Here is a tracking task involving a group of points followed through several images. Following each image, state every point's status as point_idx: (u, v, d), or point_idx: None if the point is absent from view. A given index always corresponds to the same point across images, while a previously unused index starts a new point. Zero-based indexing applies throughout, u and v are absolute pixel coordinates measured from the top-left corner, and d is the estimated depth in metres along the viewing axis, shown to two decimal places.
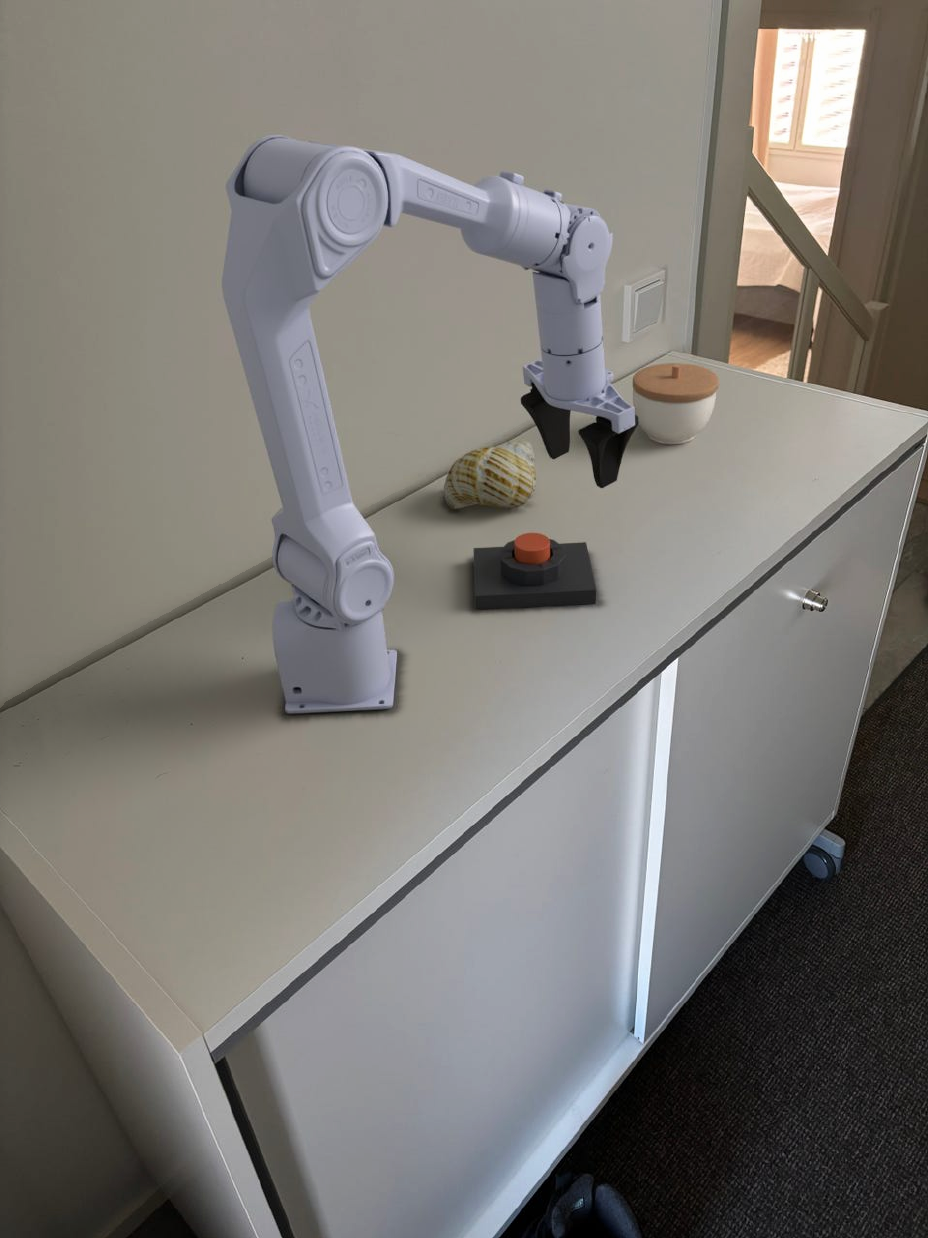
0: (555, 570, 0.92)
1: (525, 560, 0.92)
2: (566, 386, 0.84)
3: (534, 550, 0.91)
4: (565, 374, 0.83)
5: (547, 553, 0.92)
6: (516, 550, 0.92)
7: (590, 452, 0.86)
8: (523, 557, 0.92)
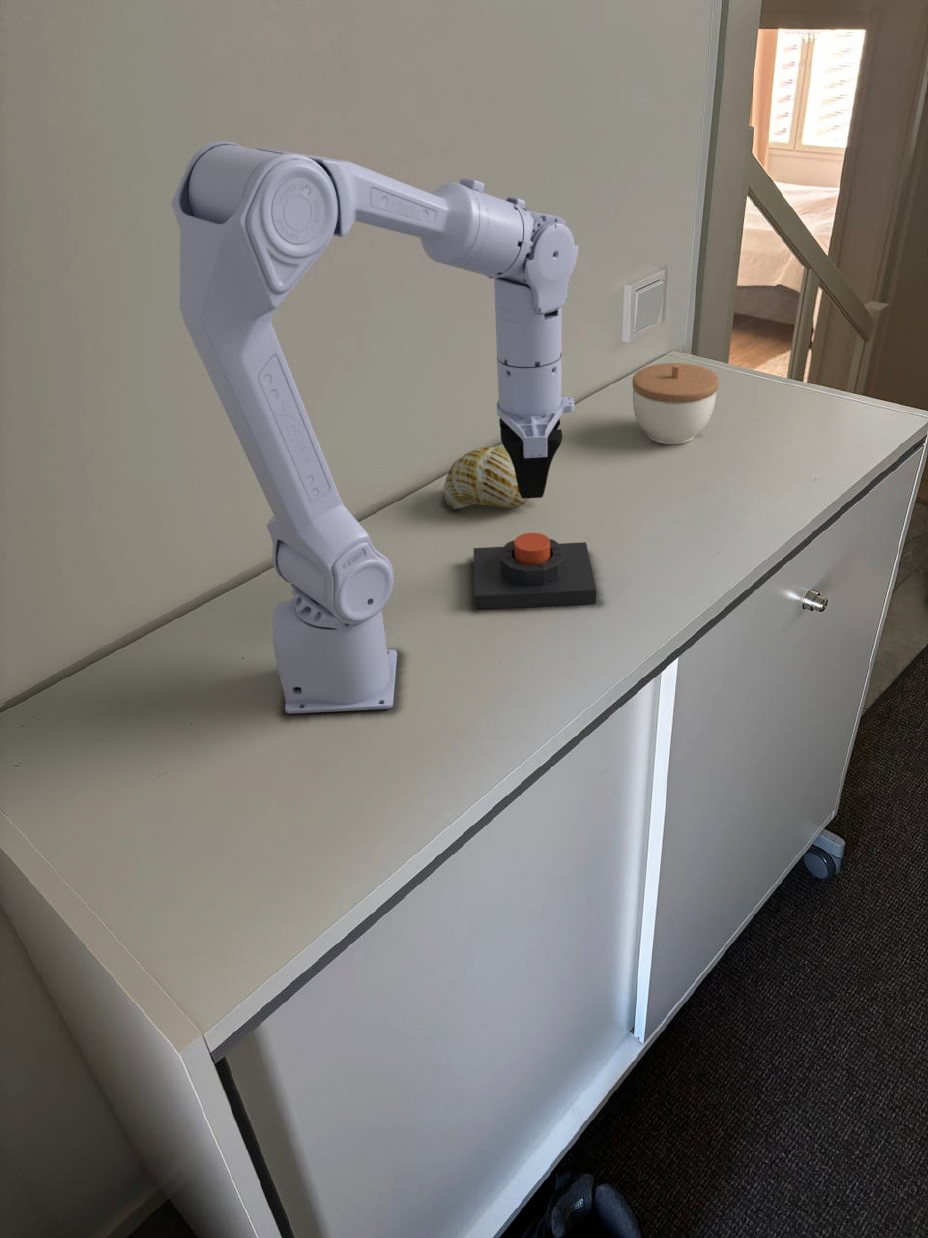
0: (555, 570, 0.92)
1: (525, 560, 0.92)
2: (505, 397, 0.82)
3: (534, 550, 0.91)
4: (505, 384, 0.81)
5: (547, 553, 0.92)
6: (516, 550, 0.92)
7: None
8: (523, 557, 0.92)
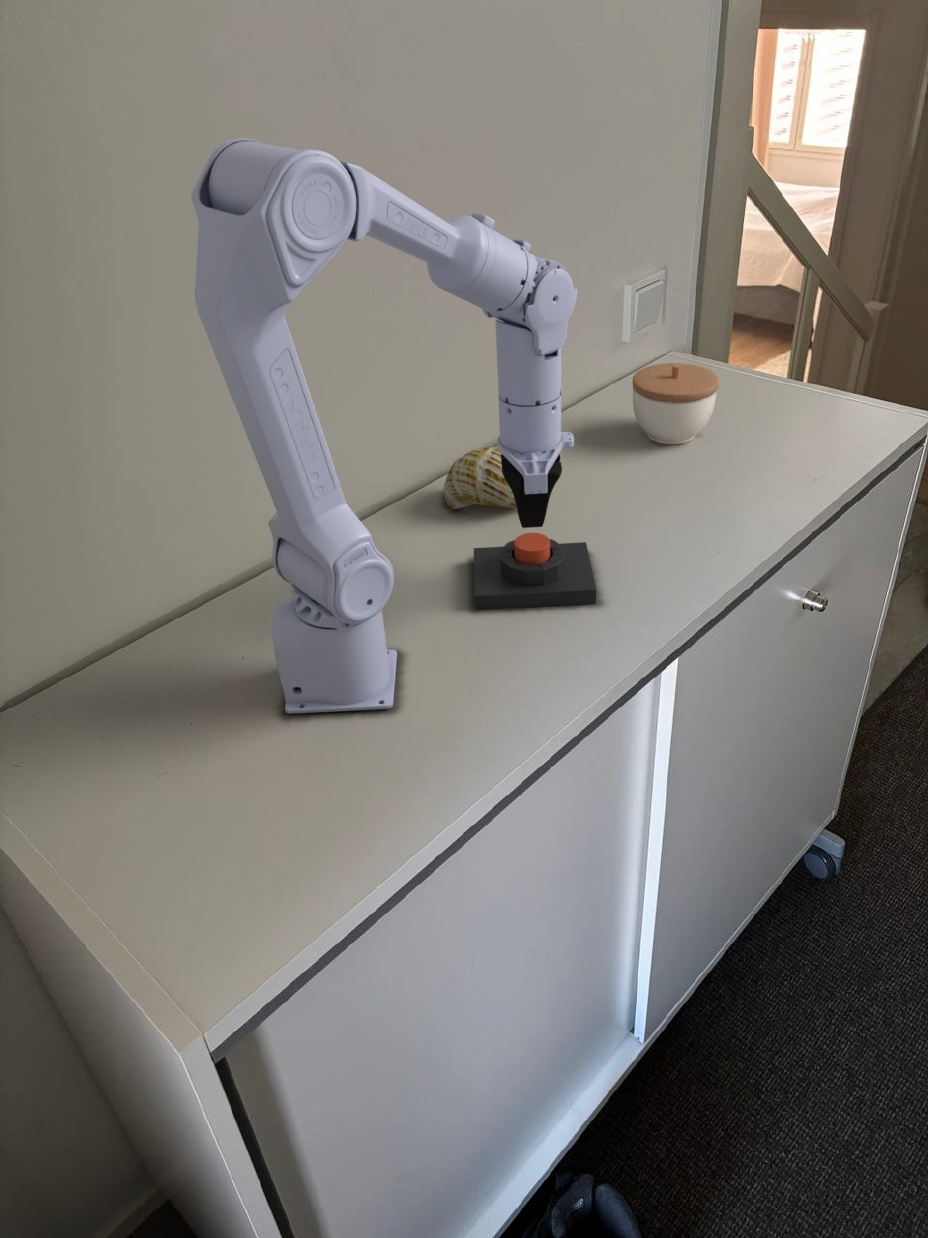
0: (555, 570, 0.92)
1: (525, 560, 0.92)
2: (506, 434, 0.84)
3: (534, 550, 0.91)
4: (506, 421, 0.83)
5: (547, 553, 0.92)
6: (516, 550, 0.92)
7: None
8: (523, 557, 0.92)
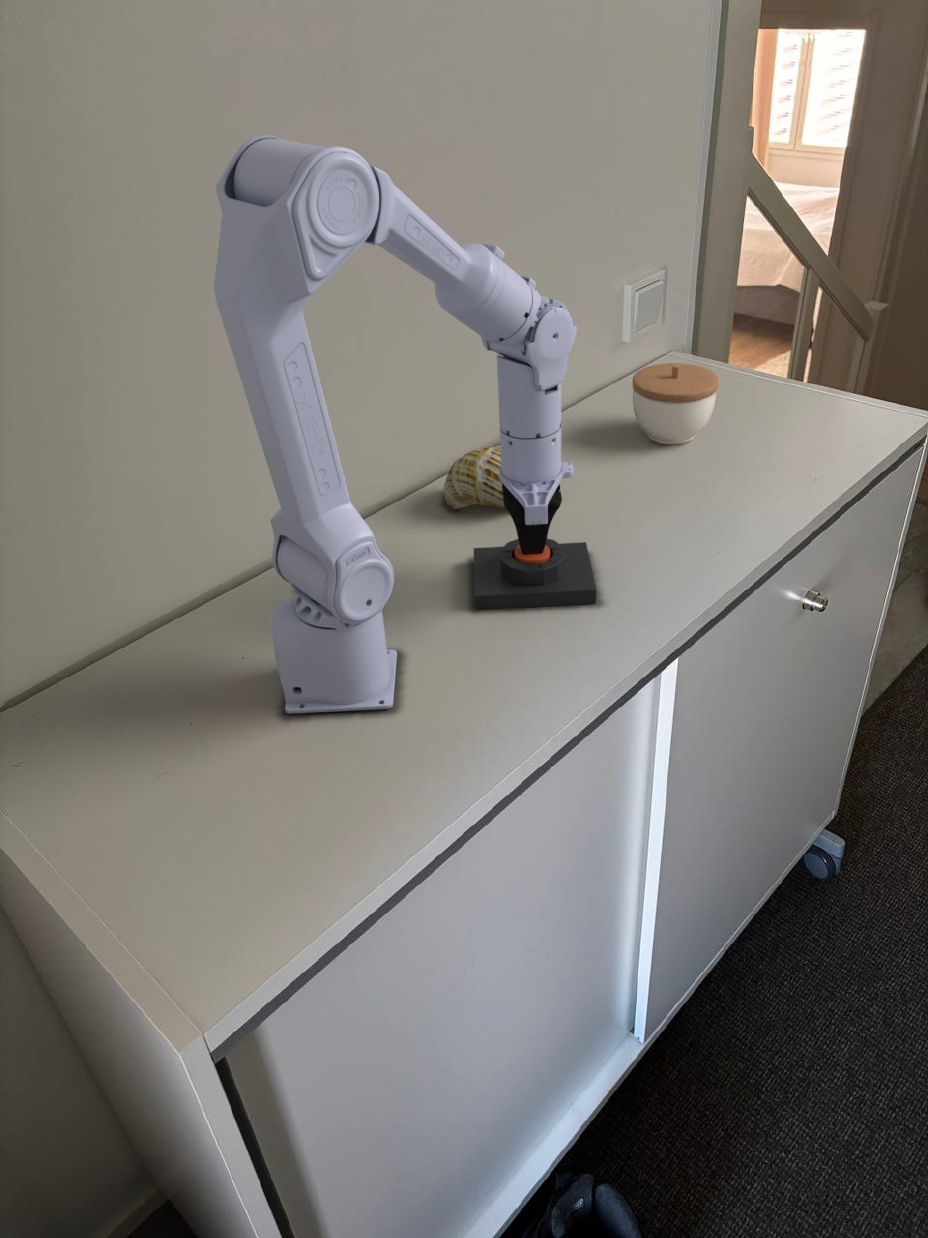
0: (555, 570, 0.92)
1: None
2: (507, 465, 0.86)
3: (534, 560, 0.92)
4: (507, 453, 0.85)
5: None
6: (516, 559, 0.93)
7: None
8: None
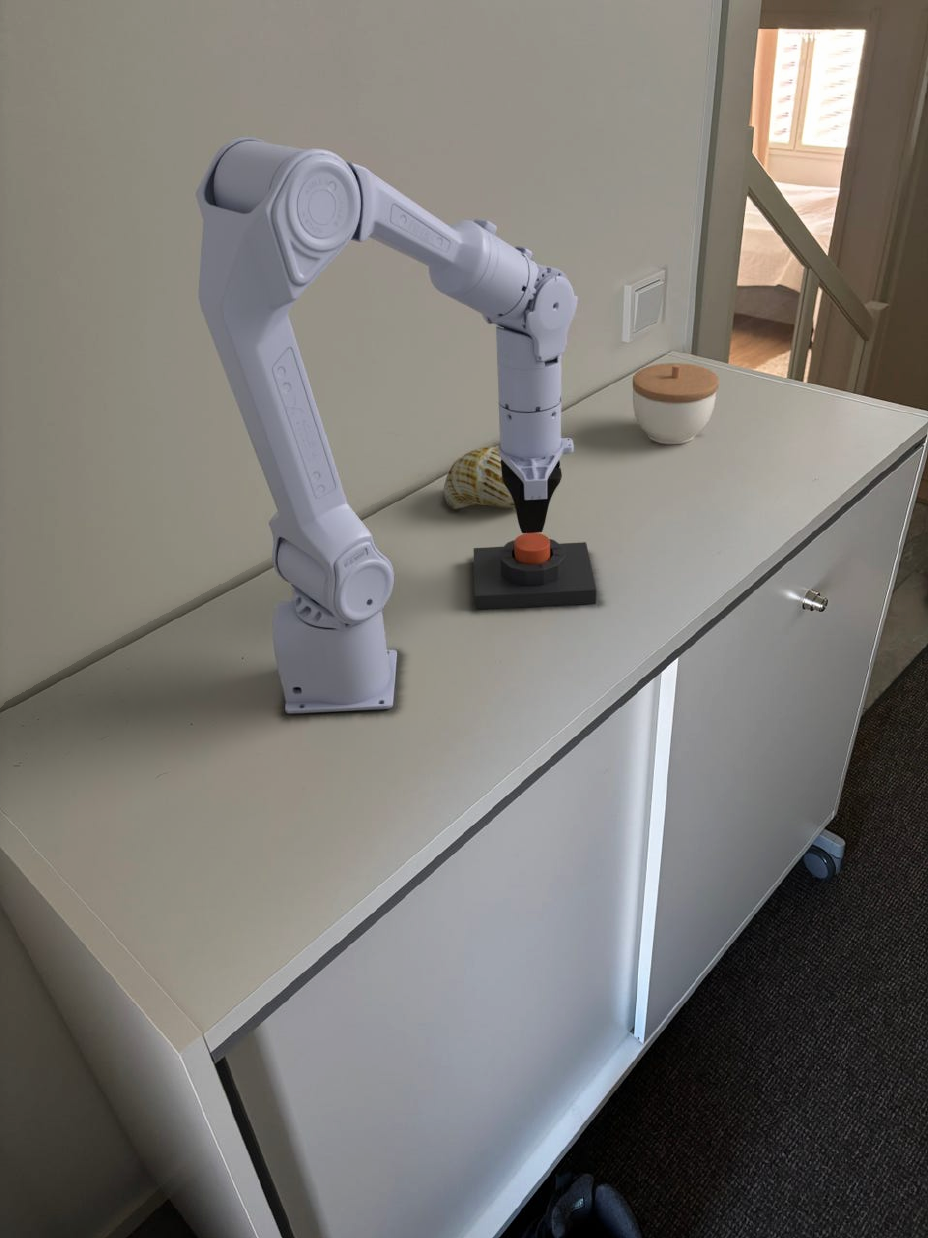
0: (555, 570, 0.92)
1: (525, 560, 0.92)
2: (506, 440, 0.84)
3: (534, 550, 0.91)
4: (506, 427, 0.83)
5: (547, 553, 0.92)
6: (516, 550, 0.92)
7: None
8: (523, 557, 0.92)
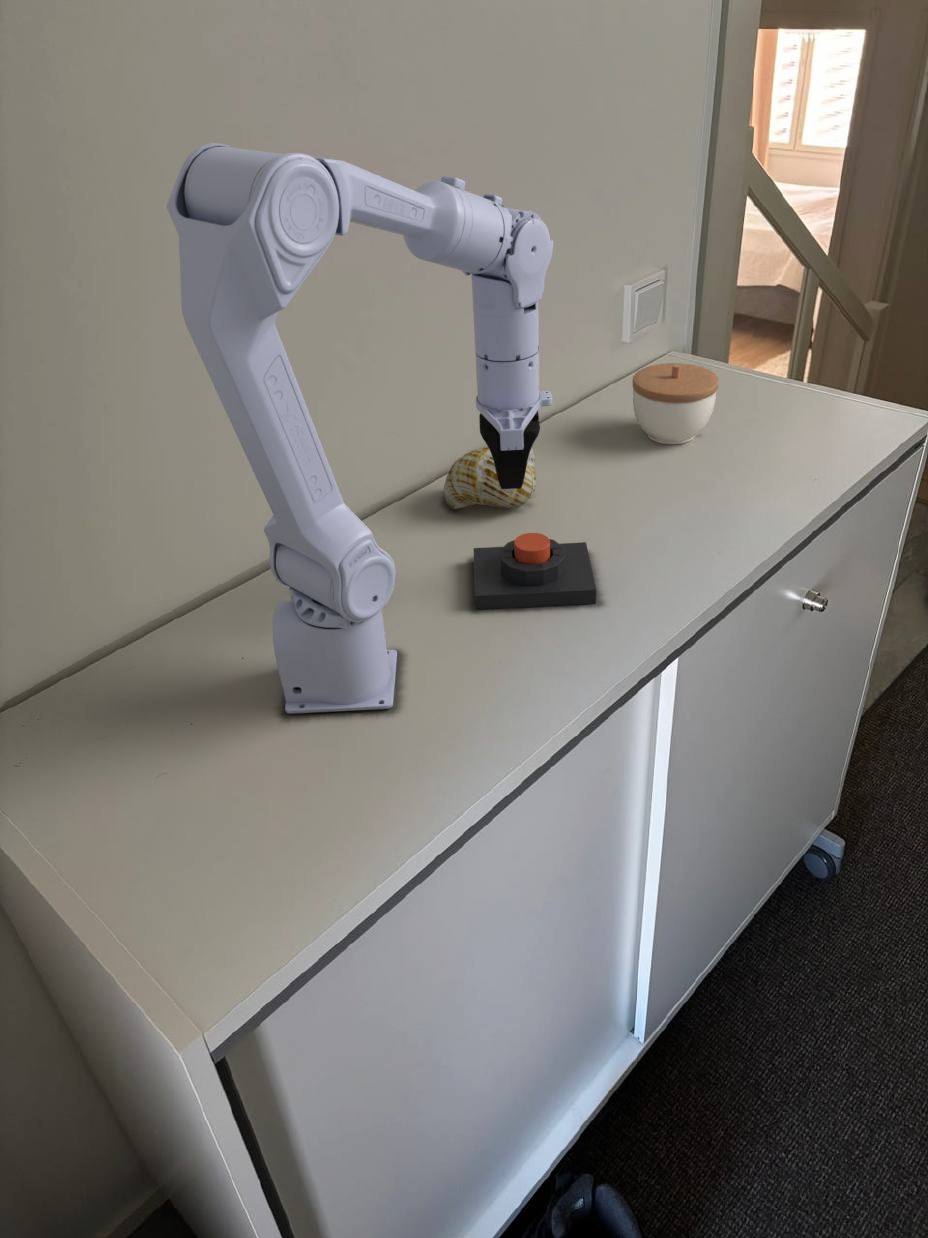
0: (555, 570, 0.92)
1: (525, 560, 0.92)
2: (483, 391, 0.83)
3: (534, 550, 0.91)
4: (483, 378, 0.82)
5: (547, 553, 0.92)
6: (516, 550, 0.92)
7: None
8: (523, 557, 0.92)
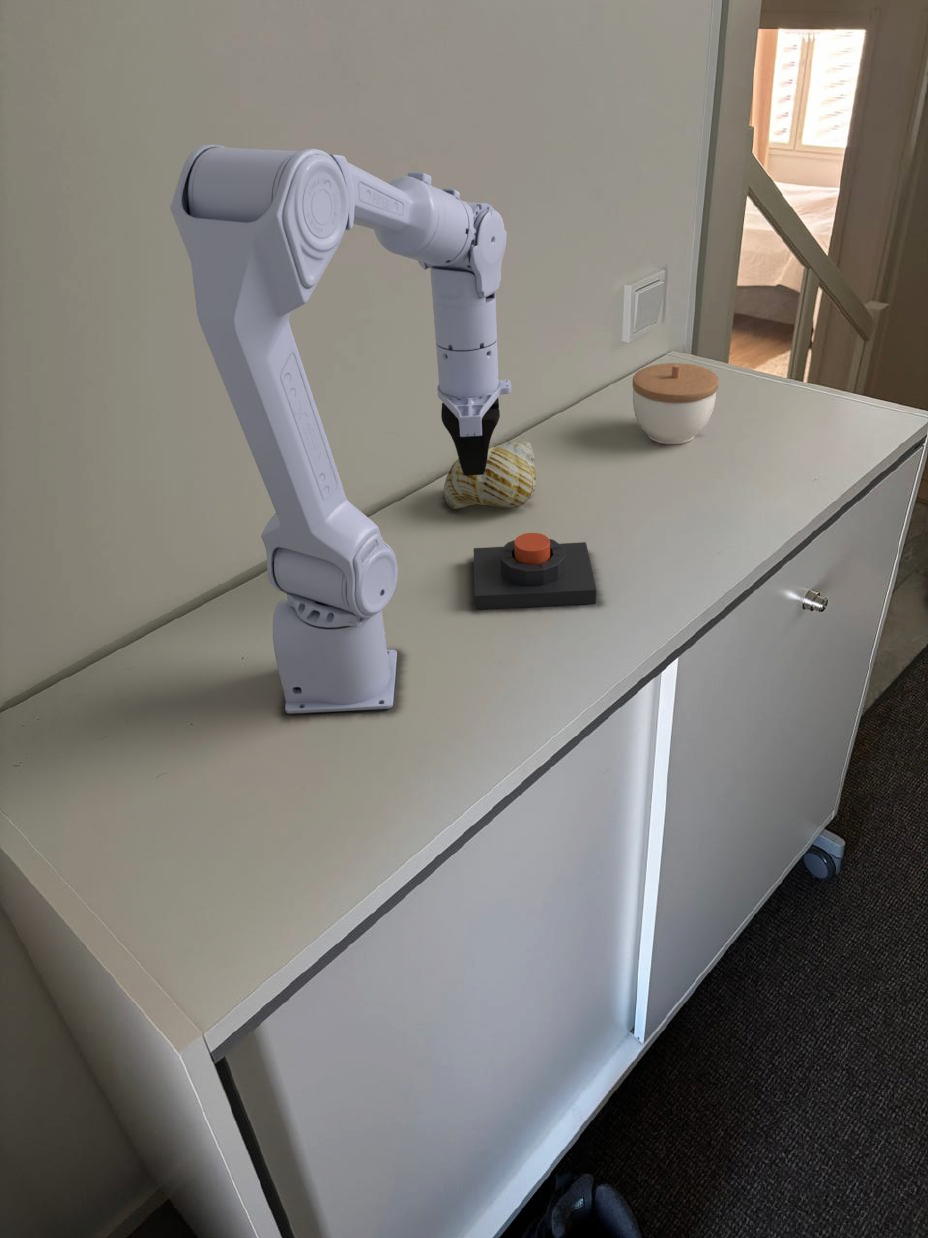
0: (555, 570, 0.92)
1: (525, 560, 0.92)
2: (444, 379, 0.86)
3: (534, 550, 0.91)
4: (443, 367, 0.85)
5: (547, 553, 0.92)
6: (516, 550, 0.92)
7: None
8: (523, 557, 0.92)
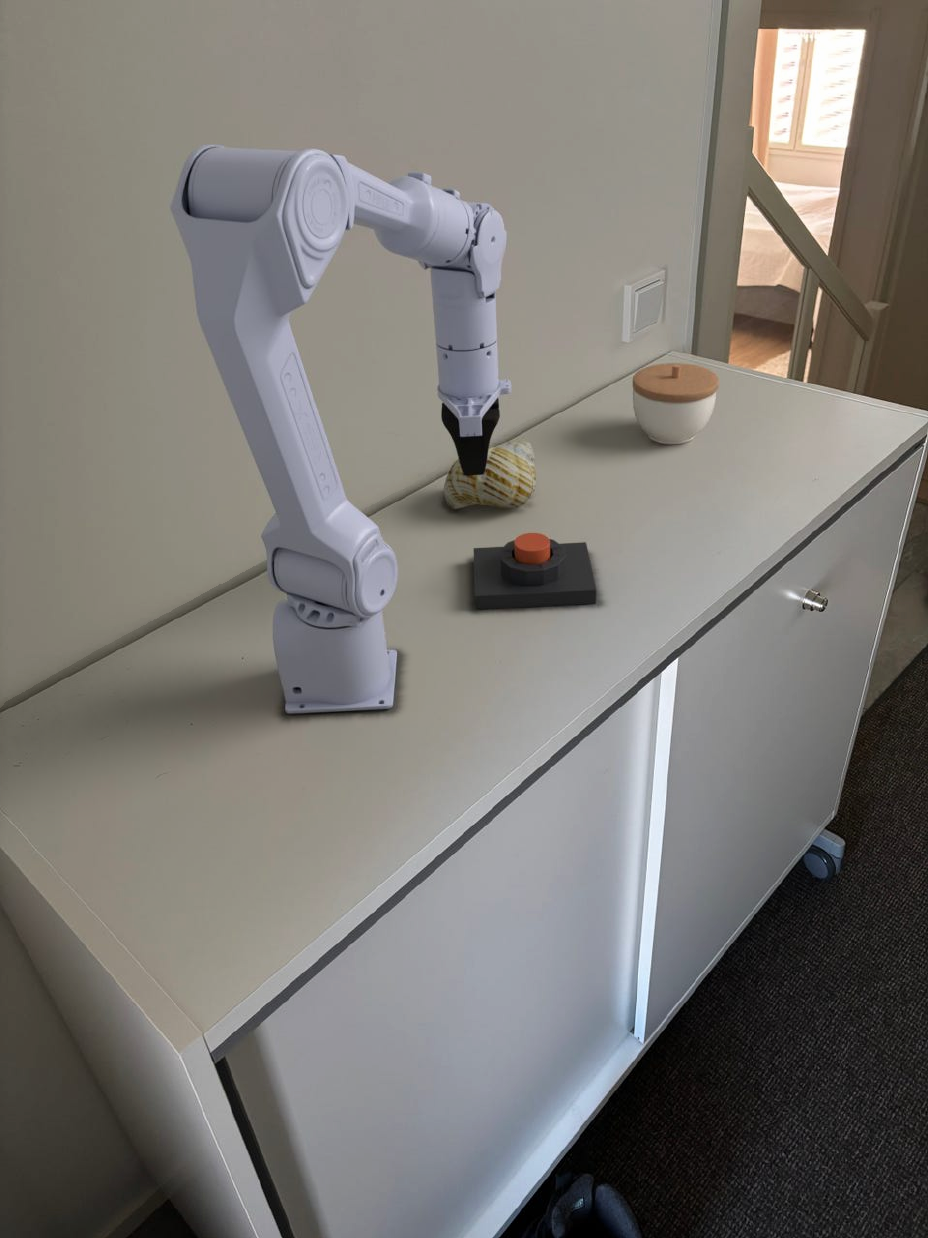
0: (555, 570, 0.92)
1: (525, 560, 0.92)
2: (444, 379, 0.86)
3: (534, 550, 0.91)
4: (443, 367, 0.85)
5: (547, 553, 0.92)
6: (516, 550, 0.92)
7: None
8: (523, 557, 0.92)
